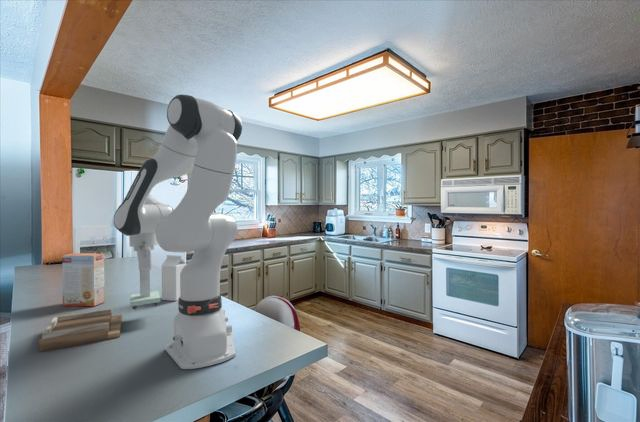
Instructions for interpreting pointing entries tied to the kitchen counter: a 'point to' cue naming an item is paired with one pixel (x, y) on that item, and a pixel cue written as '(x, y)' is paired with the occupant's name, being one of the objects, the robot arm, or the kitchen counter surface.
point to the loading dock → (80, 329)
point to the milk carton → (171, 277)
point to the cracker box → (83, 279)
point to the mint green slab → (144, 294)
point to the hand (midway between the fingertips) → (144, 279)
